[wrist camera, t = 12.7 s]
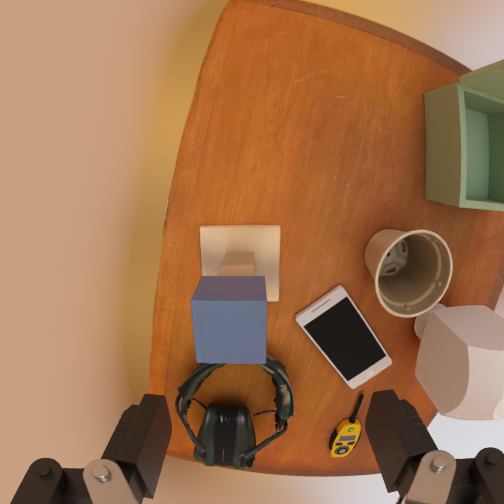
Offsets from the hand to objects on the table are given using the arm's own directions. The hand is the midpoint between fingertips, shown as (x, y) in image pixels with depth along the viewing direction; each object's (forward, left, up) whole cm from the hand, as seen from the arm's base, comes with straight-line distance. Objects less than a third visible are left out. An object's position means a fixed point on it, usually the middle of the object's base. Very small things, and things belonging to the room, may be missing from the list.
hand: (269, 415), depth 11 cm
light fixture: (+11, +25, -27) cm, 38 cm away
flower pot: (+1, +16, -27) cm, 31 cm away
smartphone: (+13, +12, -27) cm, 32 cm away
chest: (-13, +27, -27) cm, 40 cm away
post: (+2, -2, -27) cm, 27 cm away
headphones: (+22, -4, -27) cm, 35 cm away
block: (+2, -2, -15) cm, 15 cm away
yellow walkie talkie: (+30, +15, -27) cm, 43 cm away
